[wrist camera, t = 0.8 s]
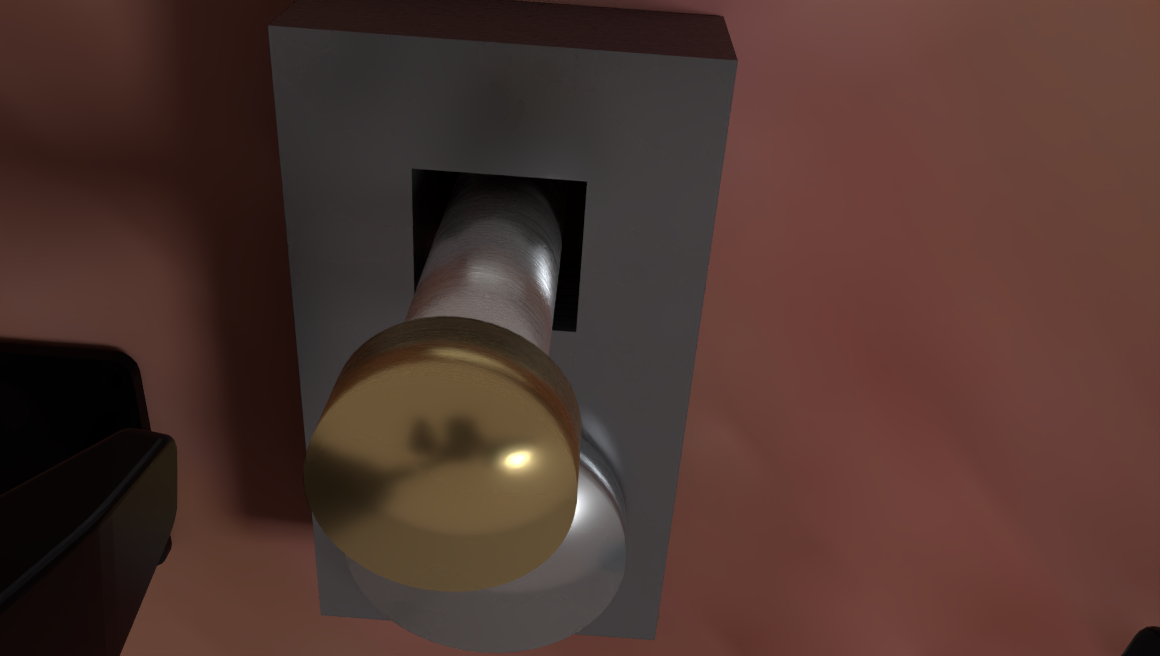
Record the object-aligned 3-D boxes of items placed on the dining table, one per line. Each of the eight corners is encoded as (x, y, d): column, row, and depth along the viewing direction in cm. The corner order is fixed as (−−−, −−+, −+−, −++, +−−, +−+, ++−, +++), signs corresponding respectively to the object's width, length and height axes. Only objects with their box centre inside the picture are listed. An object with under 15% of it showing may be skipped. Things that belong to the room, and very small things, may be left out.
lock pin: (429, 259, 23) (313, 581, 14) (427, 103, 21) (293, 366, 13) (590, 271, 23) (569, 601, 14) (602, 116, 21) (586, 388, 13)
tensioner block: (349, 530, 27) (308, 654, 24) (314, -15, 20) (245, 45, 16) (651, 552, 27) (655, 680, 24) (723, 16, 20) (744, 81, 16)
